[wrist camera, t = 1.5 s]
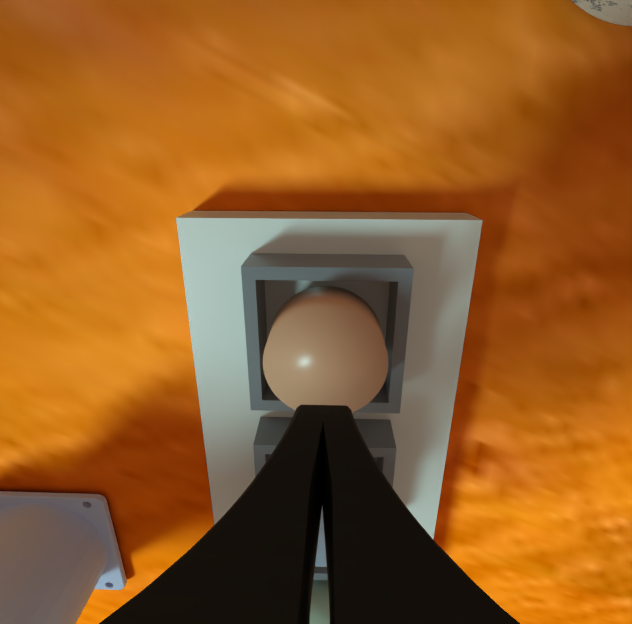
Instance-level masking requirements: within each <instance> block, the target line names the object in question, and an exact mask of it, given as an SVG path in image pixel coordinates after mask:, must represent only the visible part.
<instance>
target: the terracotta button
mask: <svg viewBox="0 0 632 624" xmlns="http://www.w3.org/2000/svg"><path fill="white" fill-rule="evenodd" d="M263 370H264V374H265V378H266V380H267V383H268V385H269V387H270V388H271V390H272V391H273V393H274V394H275V395H276V396H277V397H278V398H279V399H280V400H281V401H282V402H283V403H284V404H286V405H287V406H288V407H290V408H292V409H294V410H296V408H297V407H298V406H300V405H345V406H348V407H349V408H350V409H351V411H352V412H355V411H357V410H359V409H360V408H362V407H364V406H365V405H367V404H368V403H369V402H370V401H371V400H372V399H373V398H374V397H375V396H376V395H377V394H378V392H379V391H380V389H381V388H382V386H383V384H384V382H385V379H386V376H387V372H388V354H387V349H386V346H385V342H384V339H383V335H382V331H381V328H380V324H379V321H378V319H377V316H376V314H375V313H374V311H373V309H372V308H371V307H370V306H369V304H368V303H367V302H366V301H364V300H363V299H362V298H361V297H359V296H358V295H356V294H355V293H353V292H351V291H349V290H346V289H343V288H338V287H332V286H319V287H313V288H309V289H306V290H303V291H301V292H299V293H297V294H295V295H294V296H292V297H291V298H290V299H289V300H287V301H286V302H285V303H284V304H283V305H282V307H281V308H280V309H279V311H278V312H277V314H276V316H275V319H274V322H273V325H272V328H271V331H270V334H269V337H268V340H267V343H266V346H265V349H264V354H263Z"/></svg>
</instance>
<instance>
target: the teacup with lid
mask: <svg viewBox="0 0 632 624" xmlns="http://www.w3.org/2000/svg"><path fill="white" fill-rule="evenodd" d="M572 1H573V2H574V3H575V4H576V5H577V6H578V7H580V8H581V9H582V10H584V11H585V12H587V13H588V14H590V15H592V16H594V17H596V18H598V19H600V20H603V21H606V22H609V23H613V24H618V25H623V26H632V0H572Z"/></svg>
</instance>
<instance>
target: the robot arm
mask: <svg viewBox="0 0 632 624" xmlns="http://www.w3.org/2000/svg"><path fill="white" fill-rule="evenodd" d="M322 508H323V522H324V536H325V549H326V563H327V576H328V590H329V611H330V624H520V623H519V622H517V621H516V620H515V619H514V618H513V617H512V616H510V615H509V614H508V613H507V612H506V611H504V610H503V609H502V608H501V607H500V606H499V605H498V604H497V603H496V602H494V601H493V600H492V599H491V598H490V597H489V596H488V595H487V594H486V593H485V592H484V591H483V590H482V589H481V588H480V587H479V586H477V585H476V584H475V583H474V582H473V581H472V580H471V579H470V578H469V577H468V576H467V575H466V574H465V572H464V571H463V570H462V569H461V568H460V567H459V566H458V565H457V564H456V563H455V562H454V561H453V560H452V559H451V558H450V557H449V556H448V555H447V554H446V553H445V552H444V551H443V550H442V549H441V547H440V546H439V545H438V544H437V543H436V542H435V541H434V540H433V539H432V537H431V536H430V535H429V534H428V533H427V532H426V530H425V529H424V528H423V527H422V526H421V525H420V523H419V522H418V521H417V520H416V518H415V517H414V516H413V515H412V513H411V512H410V511H409V510H408V508H407V507H406V506H405V504H404V503H403V502H402V500H401V499H400V498H399V496H398V495H397V493H396V492H395V491H394V489H393V488H392V486H391V485H390V483H389V482H388V480H387V479H386V477H385V476H384V474H383V473H382V471H381V469H380V468H379V466H378V465H377V463H376V461H375V459H374V458H373V456H372V454H371V452H370V451H369V449H368V447H367V445H366V443H365V441H364V440H363V437H362V435H361V433H360V431H359V429H358V427H357V425H356V422H355V420H354V417H353V414H352V411H351V409H350V408H349V407H348V406H345V405H300V406H298V407H297V408H296V410H295V413H294V415H293V418H292V420H291V422H290V424H289V426H288V428H287V429H286V431H285V433H284V435H283V437H282V438H281V440H280V441H279V443H278V445H277V446H276V448H275V449H274V451H273V453H272V454H271V456H270V457H269V459H268V460H267V462H266V463H265V464H264V466H263V467H262V469H261V470H260V471H259V473H258V474H257V475H256V477H255V478H254V480H253V481H252V482H251V484H250V485H249V486H248V487H247V489H246V490H245V491H244V492H243V494H242V495H241V496H240V497H239V498H238V500H237V501H236V502H235V503H234V504H233V505H232V507H231V508H230V509H229V510H228V511H227V512H226V513H225V514H224V516H223V517H222V518H221V519H220V520H219V521H218V522H217V523H216V524H215V525H214V526H213V527H212V528H211V529H210V530H209V531H208V532H207V533H206V534H205V535H204V536H203V537H202V538H201V539H200V540H199V541H198V542H197V543H196V544H195V545H194V546H193V547H192V548H191V549H190V550H189V551H188V552H187V553H185V554H184V555H183V556H182V557H181V558H180V559H179V560H177V561H176V562H175V563H174V564H173V565H172V566H171V567H169V568H168V569H167V570H166V571H165V572H164V573H163V574H161V575H160V576H159V577H158V578H157V579H156V580H155V581H153V582H152V583H151V584H150V585H149V586H147V587H146V588H145V589H144V590H142V591H141V592H140V593H139V594H138V595H136V596H135V597H134V598H132V599H131V600H130V601H128V602H127V603H126V604H124V605H123V606H122V607H120V608H119V609H118V610H116V611H115V612H114V613H112V614H111V615H110V616H108V617H107V618H106V619H104V620H103V621H102V622H101V623H99V624H310V608H311V596H312V587H313V579H314V570H315V562H316V553H317V545H318V536H319V528H320V519H321V511H322ZM126 583H127V579H126V575H125V571H124V567H123V563H122V559H121V555H120V551H119V547H118V544H117V540H116V536H115V532H114V528H113V524H112V520H111V516H110V512H109V508H108V504H107V500H106V498H105V497H104V496H102V495H100V494H80V493H46V492H11V491H0V624H76V622H77V620H78V618H79V616H80V614H81V612H82V611H83V609H84V607H85V605H86V603H87V601H88V599H89V598H90V596H91V594H92V592H93V590H94V589H108V590H121V589H123V588H124V587H125V585H126Z"/></svg>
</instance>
